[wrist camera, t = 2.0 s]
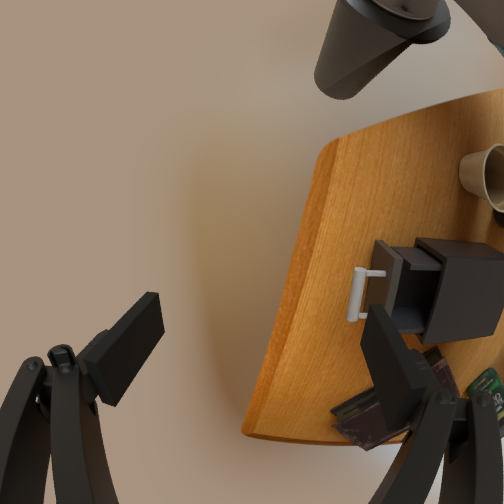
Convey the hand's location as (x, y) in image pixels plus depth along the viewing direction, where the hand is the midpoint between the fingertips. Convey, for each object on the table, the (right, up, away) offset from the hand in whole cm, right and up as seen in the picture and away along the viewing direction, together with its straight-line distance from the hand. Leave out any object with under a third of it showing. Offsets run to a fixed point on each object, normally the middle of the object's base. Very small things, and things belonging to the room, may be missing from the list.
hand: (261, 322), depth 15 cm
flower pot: (+34, +16, +17) cm, 41 cm away
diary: (+30, -27, +31) cm, 51 cm away
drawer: (+22, 0, +22) cm, 31 cm away
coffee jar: (+56, -28, +28) cm, 69 cm away
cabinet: (+32, 0, +22) cm, 38 cm away
